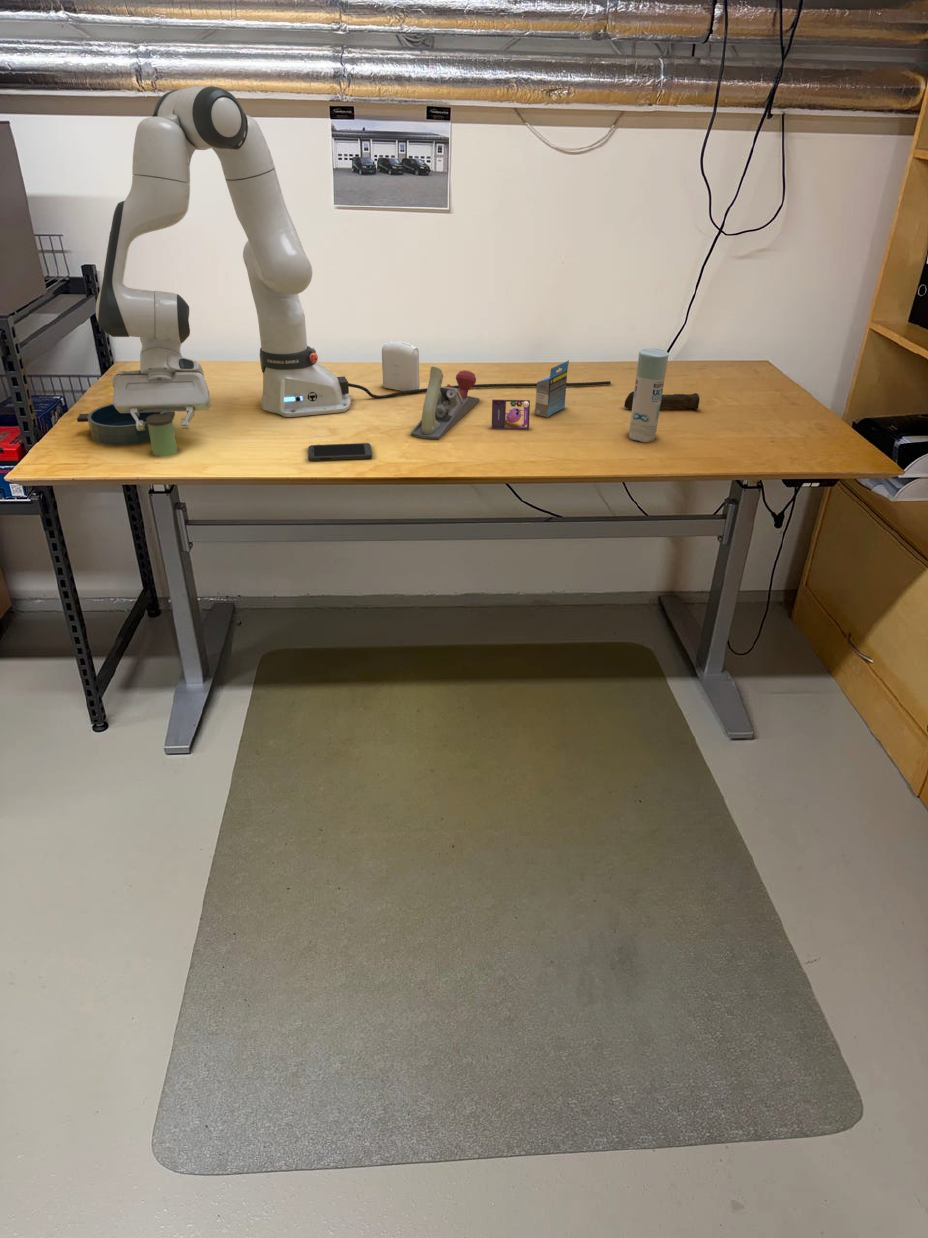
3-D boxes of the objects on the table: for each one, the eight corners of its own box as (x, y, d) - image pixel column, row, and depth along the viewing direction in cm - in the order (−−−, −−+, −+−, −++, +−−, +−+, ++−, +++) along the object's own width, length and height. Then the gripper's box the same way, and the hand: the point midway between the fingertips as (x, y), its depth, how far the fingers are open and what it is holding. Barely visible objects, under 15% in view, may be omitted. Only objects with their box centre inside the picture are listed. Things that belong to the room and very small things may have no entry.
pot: (171, 418, 207) (168, 400, 205) (161, 444, 193) (158, 425, 191) (100, 420, 205) (96, 402, 203) (84, 447, 191) (79, 427, 189)
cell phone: (372, 458, 189) (372, 455, 189) (308, 461, 187) (308, 457, 187) (370, 445, 195) (370, 442, 195) (308, 448, 193) (308, 444, 193)
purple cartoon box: (492, 399, 204) (530, 400, 204) (491, 399, 209) (528, 400, 209) (491, 428, 205) (529, 429, 206) (490, 428, 210) (527, 428, 211)
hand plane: (409, 436, 201) (408, 372, 193) (456, 395, 226) (457, 337, 217) (437, 440, 199) (437, 376, 191) (481, 399, 224) (483, 341, 215)
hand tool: (694, 406, 223) (697, 388, 221) (698, 411, 220) (701, 393, 217) (622, 405, 222) (624, 388, 220) (625, 411, 219) (627, 393, 216)
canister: (179, 447, 192) (173, 413, 188) (176, 457, 188) (170, 421, 184) (154, 448, 192) (148, 413, 187) (150, 457, 187) (144, 422, 183)
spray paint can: (649, 444, 200) (662, 358, 189) (623, 438, 203) (634, 353, 192) (659, 436, 205) (672, 351, 194) (634, 430, 208) (645, 346, 197)
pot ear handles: (175, 414, 200) (174, 411, 200) (173, 419, 197) (172, 415, 197) (80, 417, 197) (79, 413, 197) (77, 422, 195) (76, 418, 194)
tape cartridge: (552, 405, 221) (555, 356, 215) (565, 408, 219) (569, 359, 213) (533, 414, 215) (537, 365, 208) (547, 418, 213) (551, 368, 207)
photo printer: (380, 388, 229) (378, 341, 223) (388, 383, 233) (387, 337, 226) (414, 394, 226) (413, 346, 219) (421, 389, 229) (421, 342, 222)
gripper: (108, 364, 185) (109, 424, 182) (206, 361, 187) (208, 420, 185) (116, 378, 191) (117, 436, 188) (211, 375, 194) (213, 432, 191)
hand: (163, 428), depth 187 cm, fingers open, 8 cm apart
